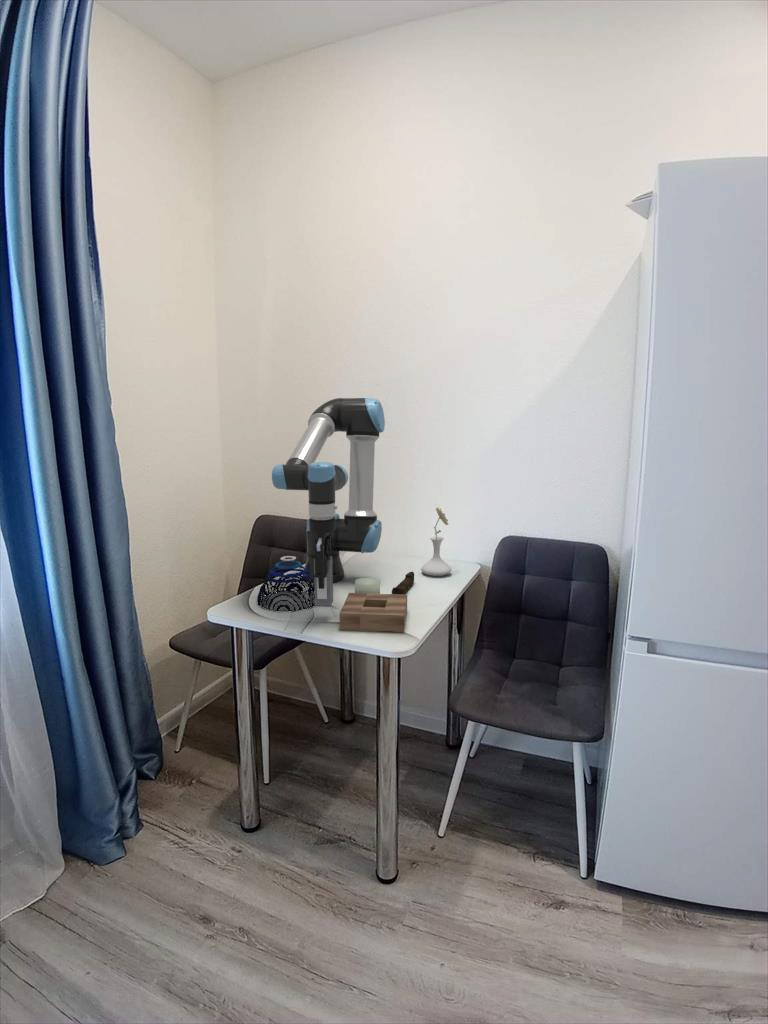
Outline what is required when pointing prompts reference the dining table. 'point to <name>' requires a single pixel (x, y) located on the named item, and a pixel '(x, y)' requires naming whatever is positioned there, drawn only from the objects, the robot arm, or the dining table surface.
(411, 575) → the hand tool
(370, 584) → the round stub
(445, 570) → the flower in vase
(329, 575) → the square bar
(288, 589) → the decorative bowl
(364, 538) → the robot arm
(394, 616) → the socket block
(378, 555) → the dining table surface
